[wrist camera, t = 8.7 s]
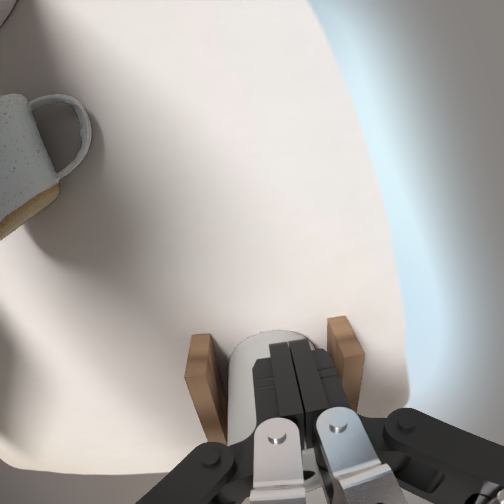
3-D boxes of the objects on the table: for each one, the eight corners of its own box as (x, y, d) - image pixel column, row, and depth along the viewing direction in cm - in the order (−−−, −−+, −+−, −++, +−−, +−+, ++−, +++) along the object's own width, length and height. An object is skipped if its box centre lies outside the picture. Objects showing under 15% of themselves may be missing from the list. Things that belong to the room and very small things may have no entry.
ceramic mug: (22, 230, 21) (-35, 268, 14) (-16, 148, 18) (-79, 164, 11) (118, 161, 20) (66, 179, 13) (73, 67, 17) (12, 50, 10)
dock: (192, 335, 25) (184, 377, 21) (345, 315, 25) (364, 353, 21) (214, 413, 29) (212, 452, 24) (339, 396, 29) (352, 434, 24)
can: (243, 395, 28) (248, 508, 17) (216, 336, 25) (207, 463, 14) (321, 376, 28) (354, 486, 17) (307, 312, 25) (348, 434, 14)
